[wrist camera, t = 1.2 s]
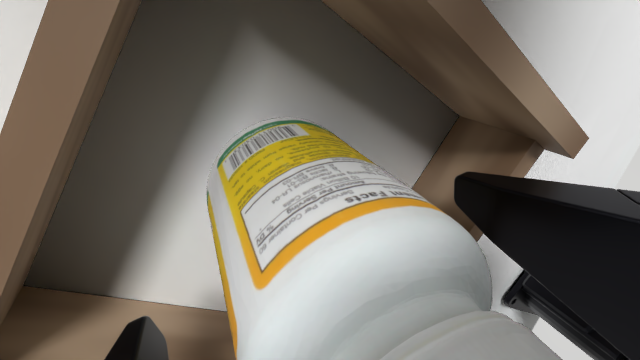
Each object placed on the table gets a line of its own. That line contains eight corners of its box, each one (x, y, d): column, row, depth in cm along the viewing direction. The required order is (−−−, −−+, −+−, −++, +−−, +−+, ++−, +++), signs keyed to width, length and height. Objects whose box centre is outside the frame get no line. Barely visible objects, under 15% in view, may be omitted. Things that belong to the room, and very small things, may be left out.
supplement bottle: (237, 88, 10) (509, 356, 2) (366, 143, 13) (696, 345, 5) (182, 233, 11) (210, 757, 3) (310, 254, 14) (496, 562, 6)
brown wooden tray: (479, 108, 14) (589, 138, 10) (327, 337, 17) (371, 427, 13) (166, -178, 7) (160, -408, 3) (-21, 302, 9) (-145, 483, 6)
